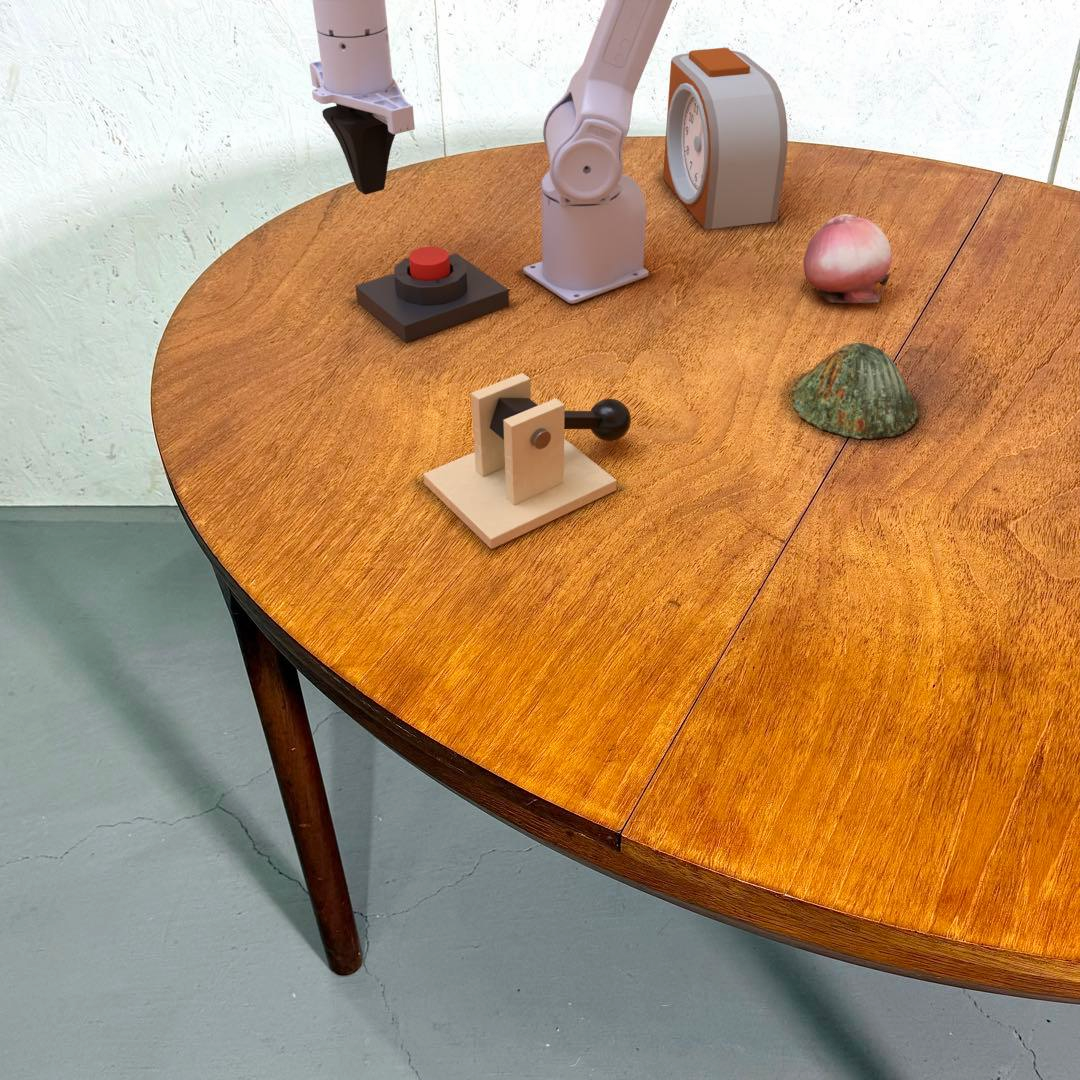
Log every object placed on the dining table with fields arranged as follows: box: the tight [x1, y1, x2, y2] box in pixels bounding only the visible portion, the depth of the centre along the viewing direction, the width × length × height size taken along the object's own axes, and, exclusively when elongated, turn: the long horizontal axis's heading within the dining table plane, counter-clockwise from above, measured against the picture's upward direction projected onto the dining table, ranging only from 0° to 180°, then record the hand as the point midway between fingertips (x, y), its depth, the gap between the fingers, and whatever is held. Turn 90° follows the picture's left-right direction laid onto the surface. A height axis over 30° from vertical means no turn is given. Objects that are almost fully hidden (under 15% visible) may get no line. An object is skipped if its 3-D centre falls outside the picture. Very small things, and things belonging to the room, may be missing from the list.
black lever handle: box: [489, 398, 632, 442], centre depth 77 cm, size 12×3×3 cm, turn 126°
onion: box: [803, 213, 893, 304], centre depth 97 cm, size 8×8×7 cm
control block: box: [355, 253, 510, 344], centre depth 97 cm, size 11×9×4 cm
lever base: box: [422, 372, 617, 550], centre depth 75 cm, size 11×9×8 cm
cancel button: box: [408, 246, 450, 281], centre depth 96 cm, size 4×4×2 cm
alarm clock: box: [662, 47, 789, 231], centre depth 111 cm, size 15×8×14 cm, turn 14°
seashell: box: [790, 342, 919, 440], centre depth 85 cm, size 10×4×10 cm
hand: (371, 189), depth 95 cm, fingers closed
